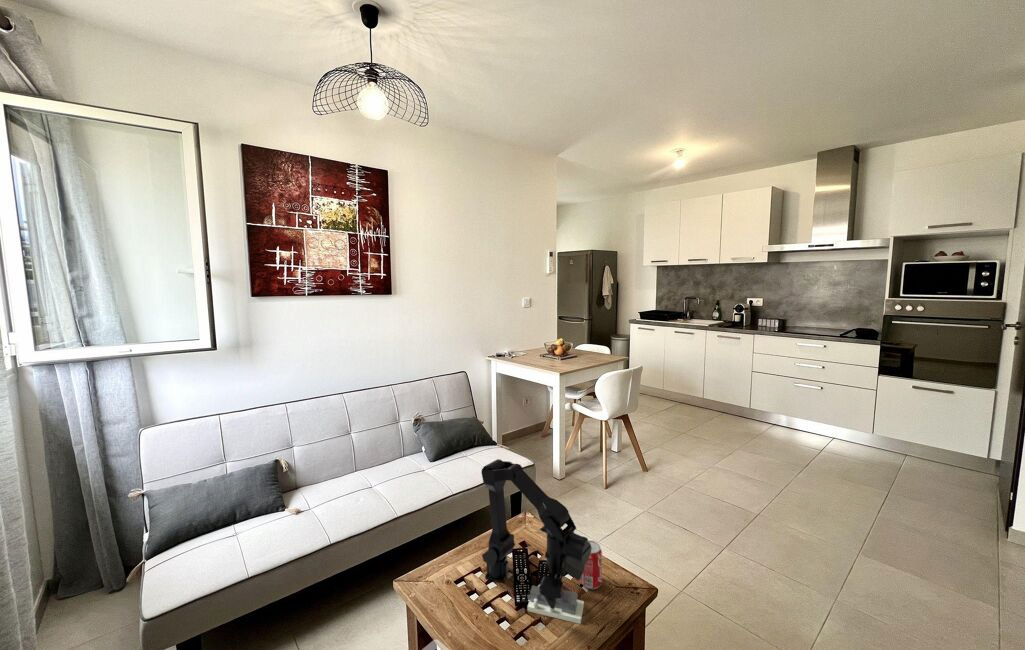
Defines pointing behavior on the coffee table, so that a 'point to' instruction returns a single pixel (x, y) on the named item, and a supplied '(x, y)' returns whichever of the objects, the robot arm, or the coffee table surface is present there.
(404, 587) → the coffee table surface
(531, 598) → the grey t-shaped plate
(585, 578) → the soda can
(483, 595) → the coffee table surface
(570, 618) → the rack
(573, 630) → the coffee table surface
